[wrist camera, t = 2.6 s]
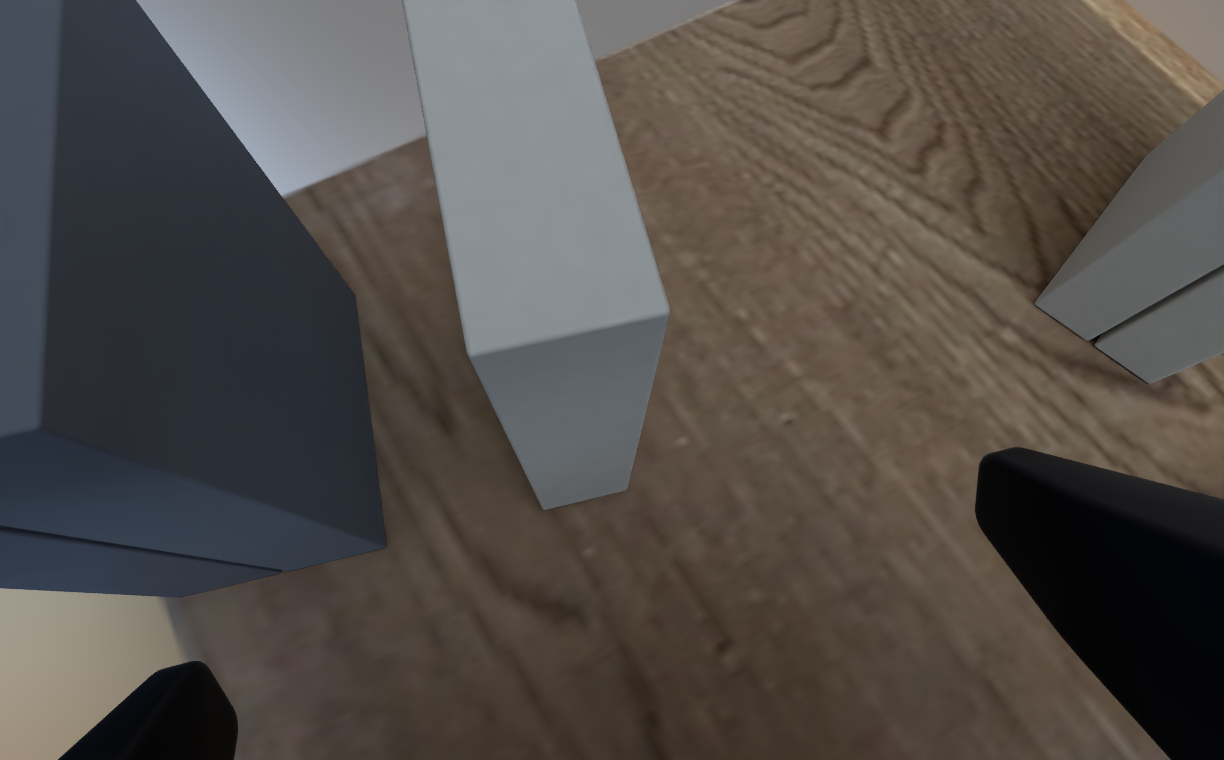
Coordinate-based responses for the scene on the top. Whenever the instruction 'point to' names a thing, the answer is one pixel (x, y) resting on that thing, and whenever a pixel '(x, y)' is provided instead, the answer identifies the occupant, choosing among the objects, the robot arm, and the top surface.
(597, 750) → the top surface
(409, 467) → the top surface
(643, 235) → the white book
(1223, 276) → the white books
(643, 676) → the top surface
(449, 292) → the top surface
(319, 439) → the grey books
